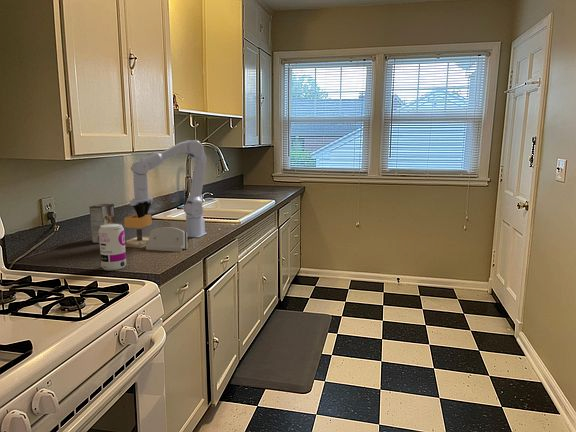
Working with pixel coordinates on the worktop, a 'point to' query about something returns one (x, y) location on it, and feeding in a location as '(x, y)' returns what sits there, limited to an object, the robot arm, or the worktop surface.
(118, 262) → the supplement can
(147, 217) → the orange square frame
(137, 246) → the keeper board
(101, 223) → the coffee box
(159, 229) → the grey napkin holder
